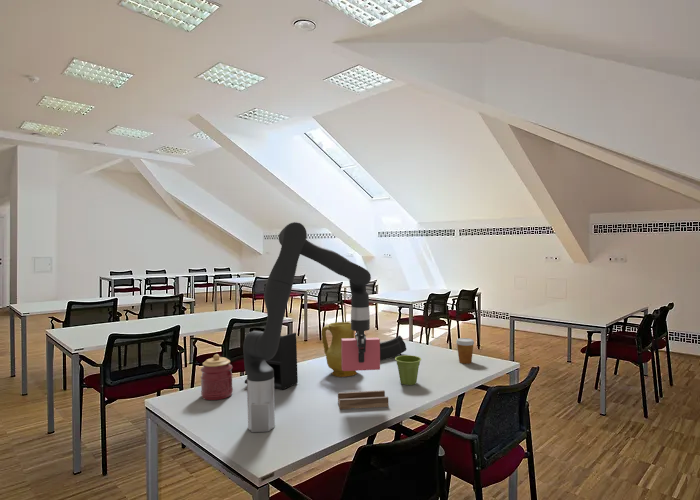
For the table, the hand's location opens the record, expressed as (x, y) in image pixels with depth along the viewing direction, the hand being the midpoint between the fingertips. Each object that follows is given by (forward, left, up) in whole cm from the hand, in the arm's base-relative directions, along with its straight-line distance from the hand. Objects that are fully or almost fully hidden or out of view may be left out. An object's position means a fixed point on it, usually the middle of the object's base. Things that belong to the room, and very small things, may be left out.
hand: (360, 360), depth 177 cm
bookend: (+31, +38, -17) cm, 52 cm away
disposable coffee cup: (+51, -62, -17) cm, 83 cm away
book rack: (-2, 0, -17) cm, 17 cm away
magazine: (+66, -22, -17) cm, 72 cm away
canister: (+17, +60, -17) cm, 64 cm away
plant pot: (+21, -24, -17) cm, 37 cm away
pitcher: (+42, +4, -17) cm, 46 cm away
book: (0, 0, -3) cm, 3 cm away
